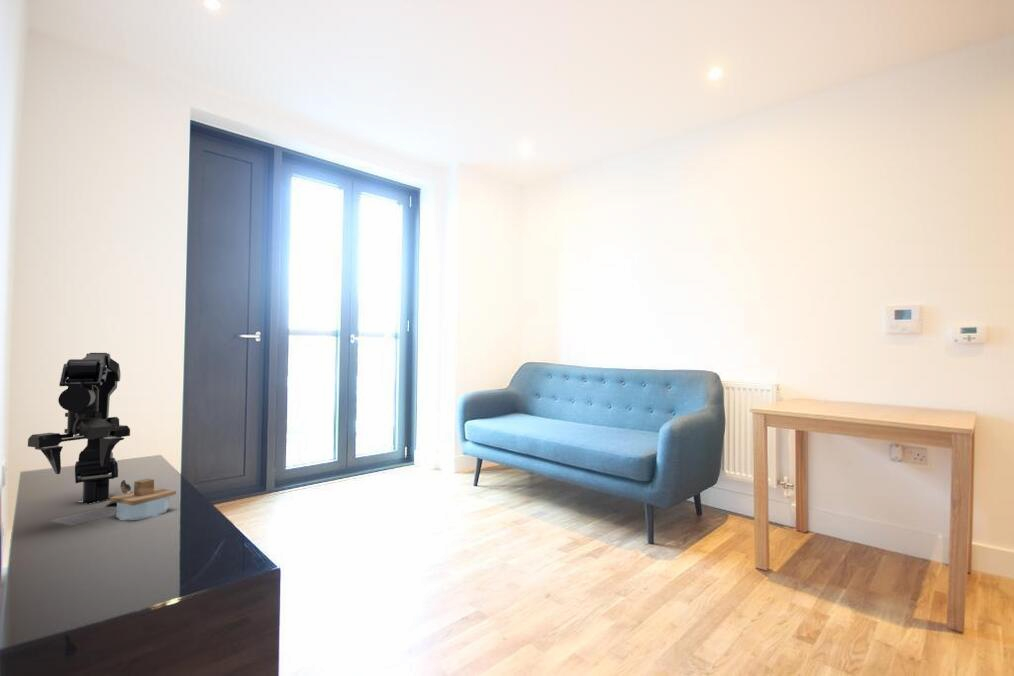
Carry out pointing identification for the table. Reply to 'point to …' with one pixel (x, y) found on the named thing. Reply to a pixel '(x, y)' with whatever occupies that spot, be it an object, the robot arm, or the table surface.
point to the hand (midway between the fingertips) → (81, 469)
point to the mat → (83, 517)
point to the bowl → (142, 509)
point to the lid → (143, 493)
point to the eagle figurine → (123, 489)
